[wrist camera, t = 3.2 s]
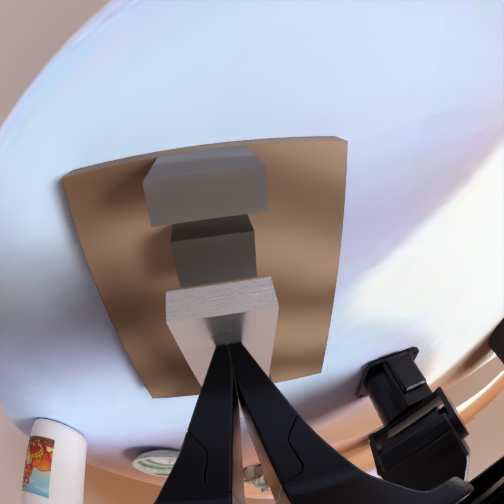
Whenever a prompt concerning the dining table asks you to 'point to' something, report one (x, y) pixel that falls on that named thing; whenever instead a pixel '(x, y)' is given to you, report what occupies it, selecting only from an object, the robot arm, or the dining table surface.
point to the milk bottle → (54, 464)
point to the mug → (498, 341)
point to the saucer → (156, 462)
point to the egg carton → (256, 477)
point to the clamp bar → (224, 321)
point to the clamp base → (276, 245)
